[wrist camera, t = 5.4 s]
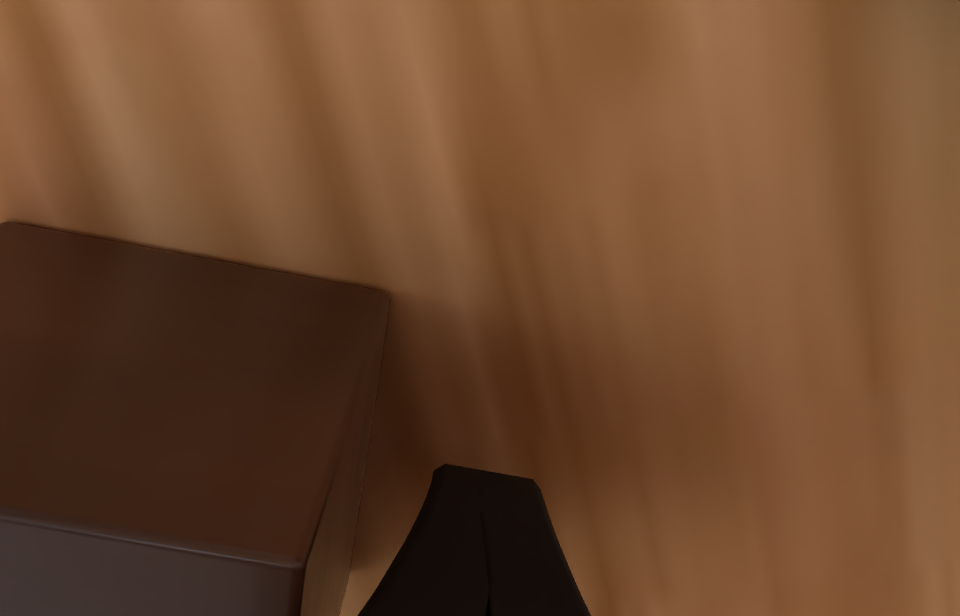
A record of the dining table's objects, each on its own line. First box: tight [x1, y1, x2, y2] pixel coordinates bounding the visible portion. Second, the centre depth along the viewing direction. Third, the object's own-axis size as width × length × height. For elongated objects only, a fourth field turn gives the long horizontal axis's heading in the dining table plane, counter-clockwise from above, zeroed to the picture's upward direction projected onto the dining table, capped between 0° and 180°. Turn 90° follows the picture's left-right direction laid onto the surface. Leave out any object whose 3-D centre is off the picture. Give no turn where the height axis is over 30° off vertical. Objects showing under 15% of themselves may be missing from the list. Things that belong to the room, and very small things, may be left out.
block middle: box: [0, 222, 391, 616], centre depth 9 cm, size 4×4×4 cm
